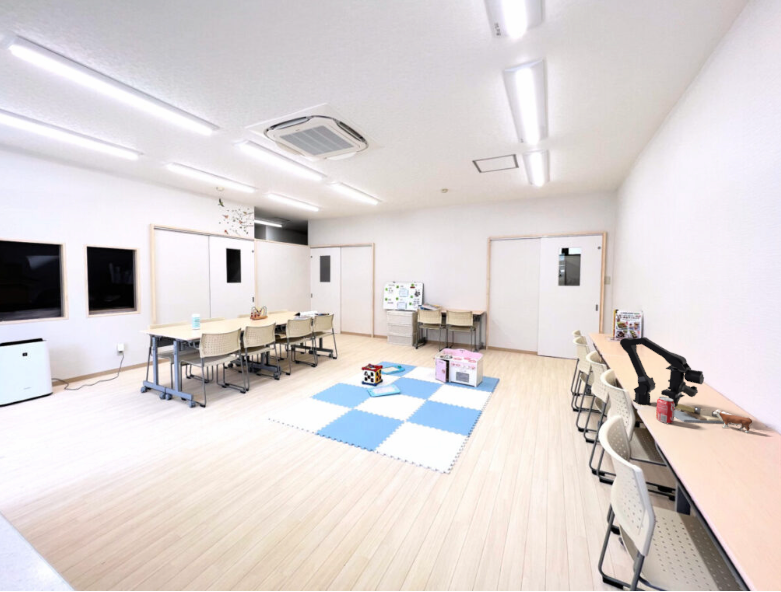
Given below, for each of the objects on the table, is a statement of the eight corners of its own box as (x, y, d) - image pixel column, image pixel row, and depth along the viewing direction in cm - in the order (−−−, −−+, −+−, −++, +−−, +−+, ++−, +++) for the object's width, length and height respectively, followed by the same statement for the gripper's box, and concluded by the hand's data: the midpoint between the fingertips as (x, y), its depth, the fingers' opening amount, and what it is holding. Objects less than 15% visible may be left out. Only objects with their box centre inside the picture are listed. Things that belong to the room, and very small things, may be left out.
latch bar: (701, 413, 172) (701, 408, 171) (699, 414, 170) (699, 409, 170) (671, 405, 182) (672, 400, 182) (670, 406, 181) (670, 401, 180)
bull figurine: (712, 422, 166) (713, 407, 166) (751, 432, 157) (752, 415, 156) (711, 425, 163) (713, 409, 163) (751, 435, 154) (753, 418, 153)
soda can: (670, 420, 169) (672, 397, 168) (675, 425, 163) (677, 402, 162) (653, 417, 172) (655, 395, 171) (658, 422, 166) (659, 399, 165)
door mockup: (683, 422, 167) (684, 413, 167) (665, 412, 179) (665, 404, 179) (730, 423, 166) (731, 415, 165) (709, 413, 178) (709, 405, 177)
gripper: (688, 385, 166) (685, 415, 167) (703, 381, 175) (701, 409, 176) (661, 379, 176) (659, 407, 177) (677, 375, 185) (675, 402, 186)
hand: (674, 406), depth 178 cm, fingers closed
